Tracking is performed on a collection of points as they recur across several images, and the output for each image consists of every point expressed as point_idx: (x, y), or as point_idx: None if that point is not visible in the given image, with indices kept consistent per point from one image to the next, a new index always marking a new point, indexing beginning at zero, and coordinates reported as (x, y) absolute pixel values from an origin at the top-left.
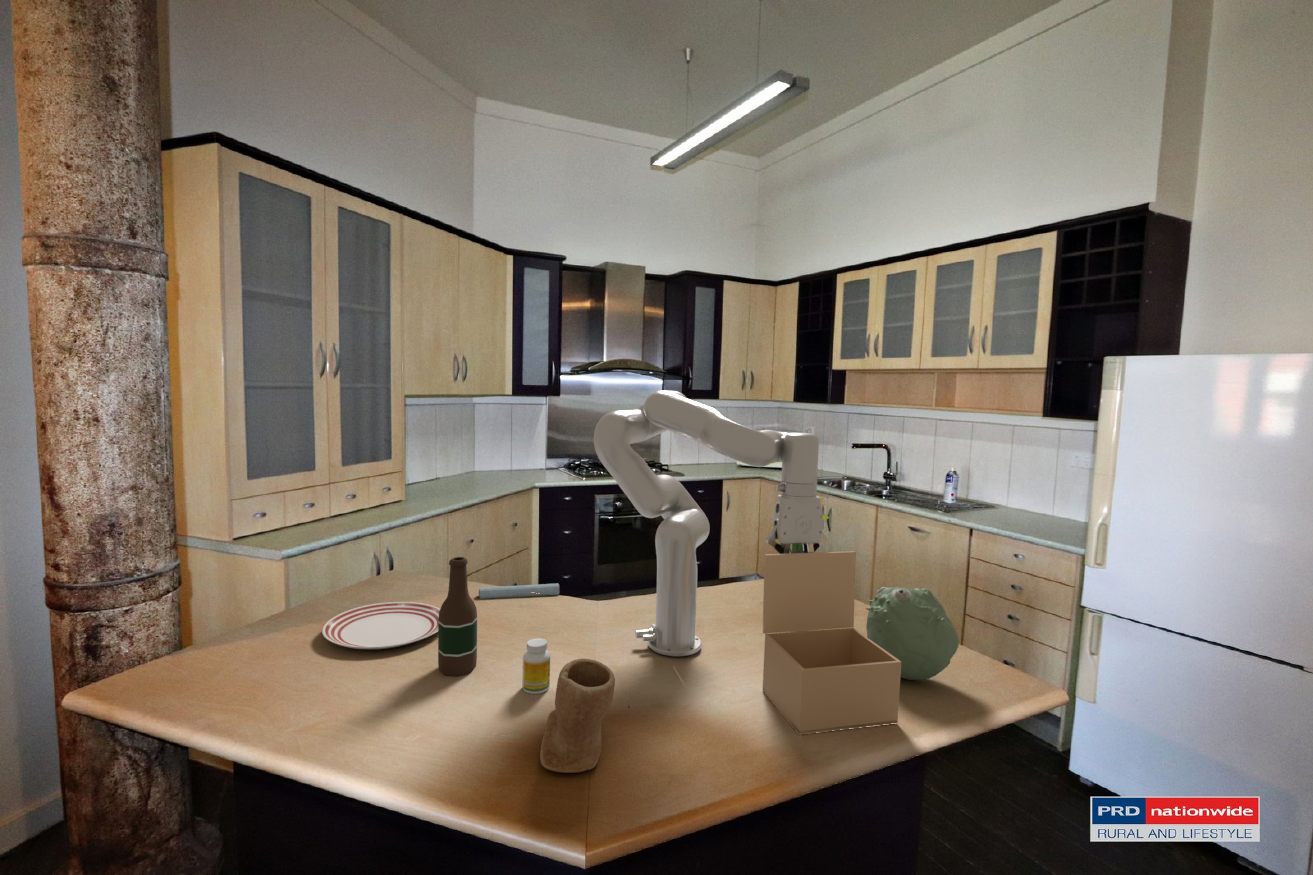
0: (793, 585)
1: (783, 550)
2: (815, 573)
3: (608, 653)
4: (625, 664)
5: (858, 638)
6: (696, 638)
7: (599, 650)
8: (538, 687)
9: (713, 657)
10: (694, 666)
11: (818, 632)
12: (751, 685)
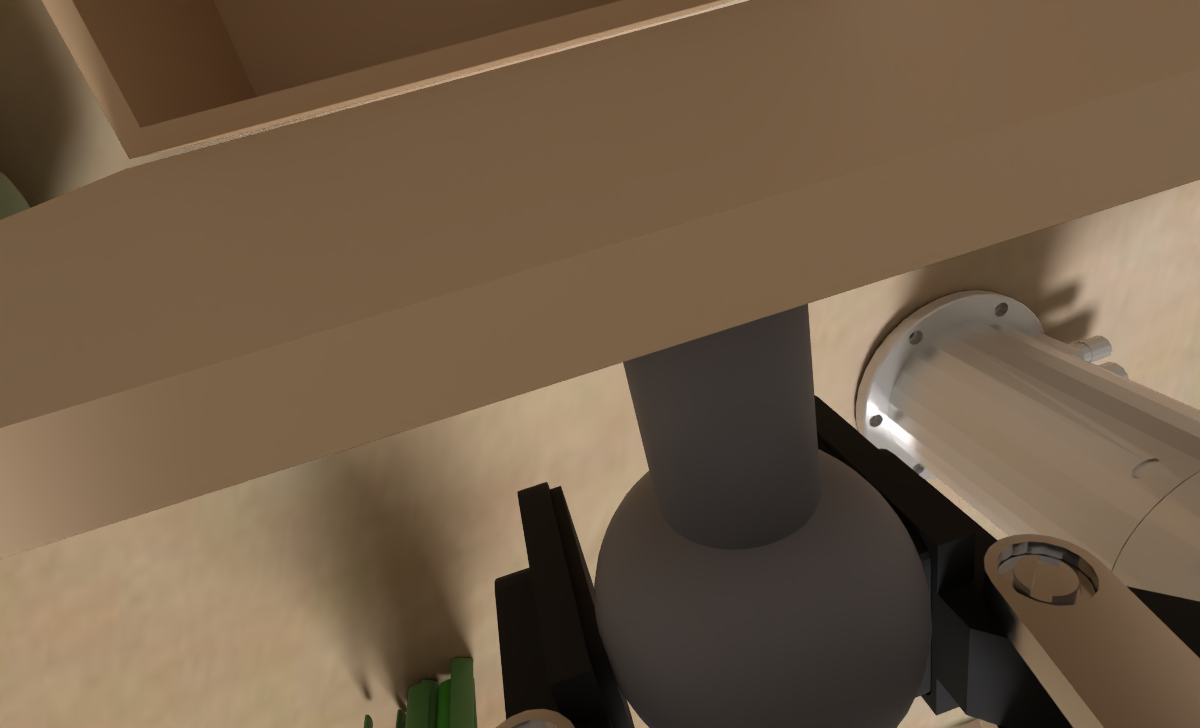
0: (847, 13)
1: (1151, 628)
2: (533, 124)
3: (1173, 286)
4: (1147, 206)
5: (106, 27)
6: (875, 427)
7: (1192, 304)
8: None
9: (831, 308)
10: None
11: (445, 49)
12: None
